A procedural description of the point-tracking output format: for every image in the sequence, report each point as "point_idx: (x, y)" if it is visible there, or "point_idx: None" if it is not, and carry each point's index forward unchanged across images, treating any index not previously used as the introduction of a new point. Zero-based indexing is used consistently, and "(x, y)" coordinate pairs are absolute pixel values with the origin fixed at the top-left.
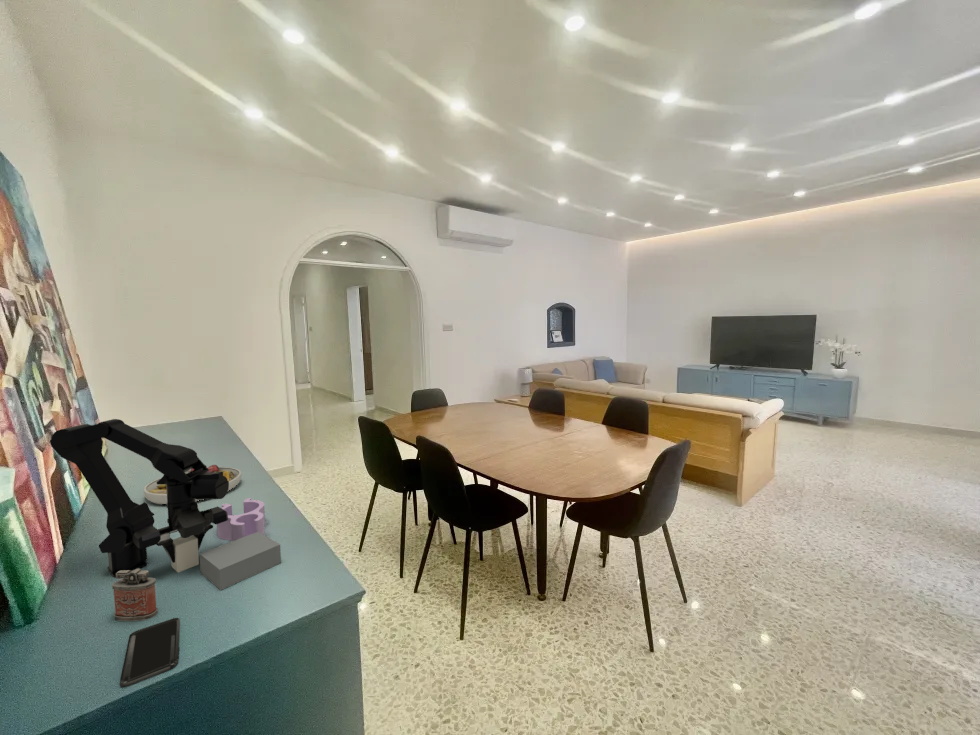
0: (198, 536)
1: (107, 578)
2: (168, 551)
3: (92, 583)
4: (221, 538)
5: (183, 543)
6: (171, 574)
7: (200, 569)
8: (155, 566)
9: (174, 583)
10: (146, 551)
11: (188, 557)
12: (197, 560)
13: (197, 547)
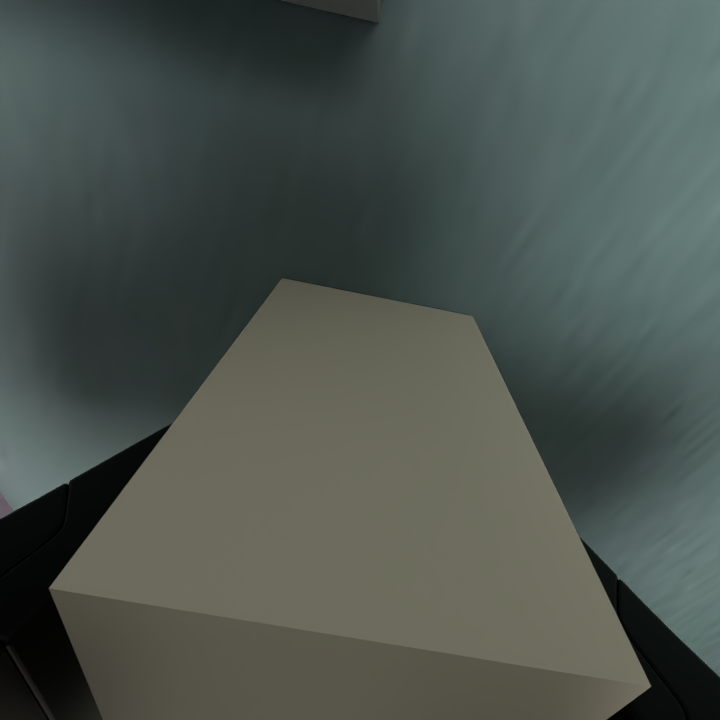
0: (2, 644)
1: None
2: (646, 614)
3: (708, 639)
4: (2, 503)
5: (459, 648)
6: (516, 339)
7: (377, 1)
8: None
9: (677, 94)
10: None
11: (368, 357)
12: (282, 297)
13: (204, 395)
